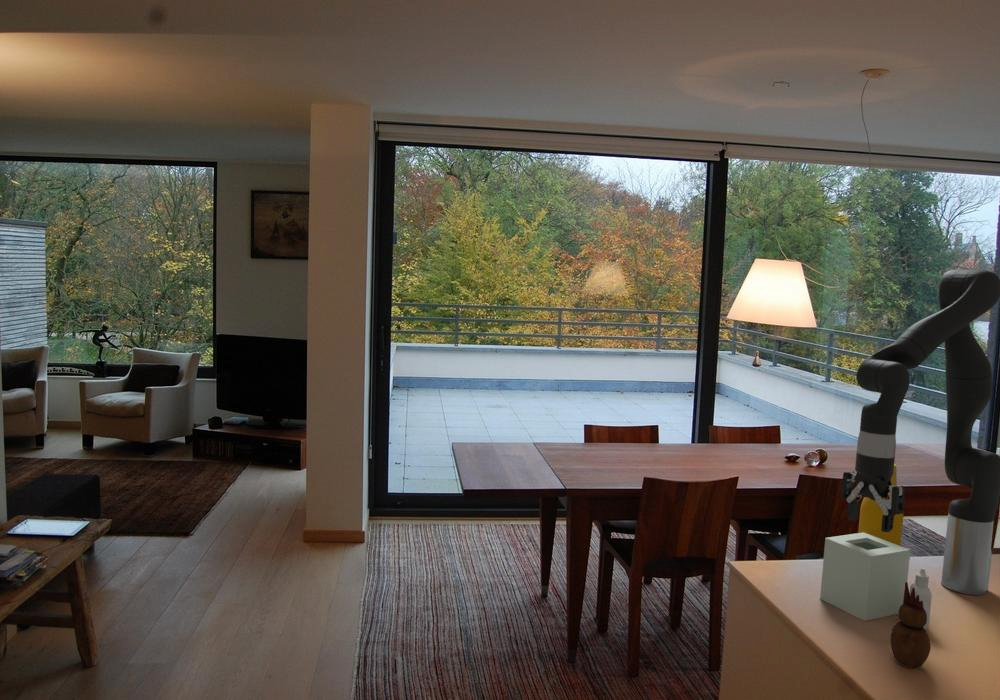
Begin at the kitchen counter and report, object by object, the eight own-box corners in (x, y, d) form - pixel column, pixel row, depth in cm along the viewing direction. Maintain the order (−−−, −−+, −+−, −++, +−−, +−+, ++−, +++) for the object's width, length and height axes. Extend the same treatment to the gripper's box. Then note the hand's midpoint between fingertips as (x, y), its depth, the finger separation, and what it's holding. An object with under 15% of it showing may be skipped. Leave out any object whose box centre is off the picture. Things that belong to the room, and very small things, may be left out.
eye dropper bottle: (930, 622, 167) (936, 567, 166) (927, 631, 163) (933, 575, 162) (907, 616, 170) (913, 562, 169) (903, 625, 165) (909, 570, 164)
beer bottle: (846, 582, 188) (857, 462, 185) (863, 573, 195) (874, 457, 192) (886, 595, 182) (898, 470, 179) (903, 585, 188) (914, 465, 185)
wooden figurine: (882, 654, 152) (890, 578, 150) (911, 654, 152) (919, 579, 151) (903, 672, 145) (911, 593, 144) (933, 672, 146) (941, 593, 144)
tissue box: (858, 591, 183) (863, 532, 181) (904, 612, 172) (910, 549, 171) (820, 598, 178) (825, 537, 176) (865, 620, 167) (871, 556, 165)
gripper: (917, 458, 167) (909, 534, 168) (860, 444, 179) (854, 514, 181) (892, 461, 163) (885, 537, 165) (836, 446, 176) (830, 517, 178)
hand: (868, 525), depth 173 cm, fingers open, 8 cm apart
